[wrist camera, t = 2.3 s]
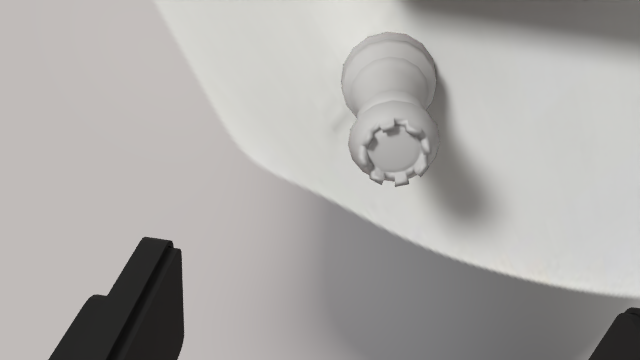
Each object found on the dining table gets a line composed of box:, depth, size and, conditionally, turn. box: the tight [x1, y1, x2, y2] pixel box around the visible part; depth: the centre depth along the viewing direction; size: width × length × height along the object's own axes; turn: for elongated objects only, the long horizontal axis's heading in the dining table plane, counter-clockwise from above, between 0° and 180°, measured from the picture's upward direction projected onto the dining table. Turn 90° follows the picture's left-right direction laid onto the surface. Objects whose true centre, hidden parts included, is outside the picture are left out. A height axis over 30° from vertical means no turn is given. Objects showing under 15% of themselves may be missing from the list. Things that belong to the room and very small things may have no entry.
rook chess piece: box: [341, 32, 440, 187], centre depth 20 cm, size 4×4×8 cm
